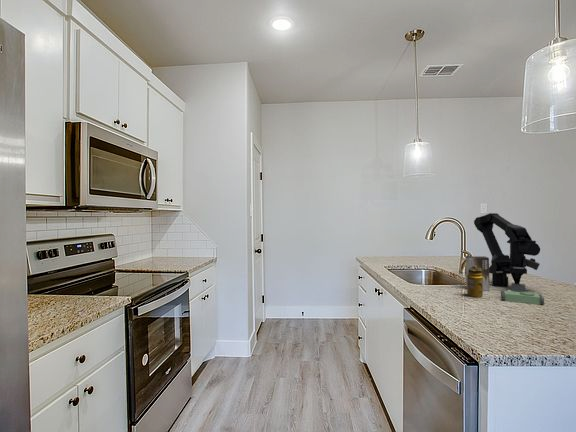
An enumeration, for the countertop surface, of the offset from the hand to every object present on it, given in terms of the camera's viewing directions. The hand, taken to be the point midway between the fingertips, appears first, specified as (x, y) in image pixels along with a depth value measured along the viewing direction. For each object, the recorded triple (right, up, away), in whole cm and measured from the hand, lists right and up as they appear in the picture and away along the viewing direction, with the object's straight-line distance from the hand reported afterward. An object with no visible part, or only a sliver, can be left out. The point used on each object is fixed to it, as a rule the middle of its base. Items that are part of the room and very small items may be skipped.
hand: (517, 285), depth 158 cm
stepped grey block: (-3, -3, -5) cm, 6 cm away
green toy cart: (-9, -3, -16) cm, 18 cm away
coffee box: (-17, -3, +4) cm, 17 cm away
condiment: (-27, -3, -10) cm, 29 cm away
